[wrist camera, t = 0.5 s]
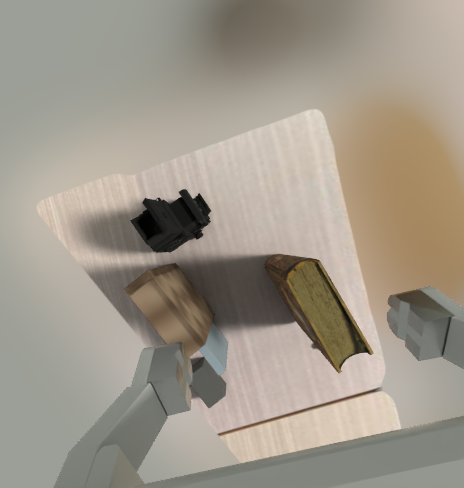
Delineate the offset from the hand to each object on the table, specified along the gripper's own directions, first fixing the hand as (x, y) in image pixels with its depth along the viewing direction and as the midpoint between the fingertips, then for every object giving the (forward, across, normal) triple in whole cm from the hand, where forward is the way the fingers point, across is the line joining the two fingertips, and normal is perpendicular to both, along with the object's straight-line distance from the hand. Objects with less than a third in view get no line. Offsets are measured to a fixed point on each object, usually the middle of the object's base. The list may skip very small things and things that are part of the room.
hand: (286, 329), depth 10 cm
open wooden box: (+43, -15, -26) cm, 53 cm away
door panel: (+40, -11, -33) cm, 53 cm away
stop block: (+35, -14, -44) cm, 58 cm away
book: (+42, +9, -29) cm, 52 cm away
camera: (+51, -12, -12) cm, 53 cm away
